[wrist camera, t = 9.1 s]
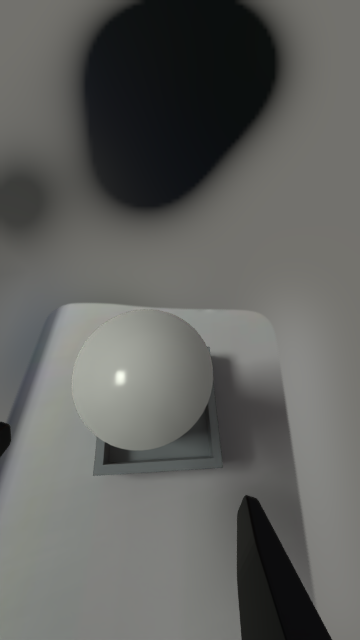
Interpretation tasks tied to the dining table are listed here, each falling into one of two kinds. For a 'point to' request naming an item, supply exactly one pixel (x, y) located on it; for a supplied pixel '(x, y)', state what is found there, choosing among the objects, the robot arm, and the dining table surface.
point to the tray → (167, 450)
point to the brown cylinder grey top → (142, 379)
